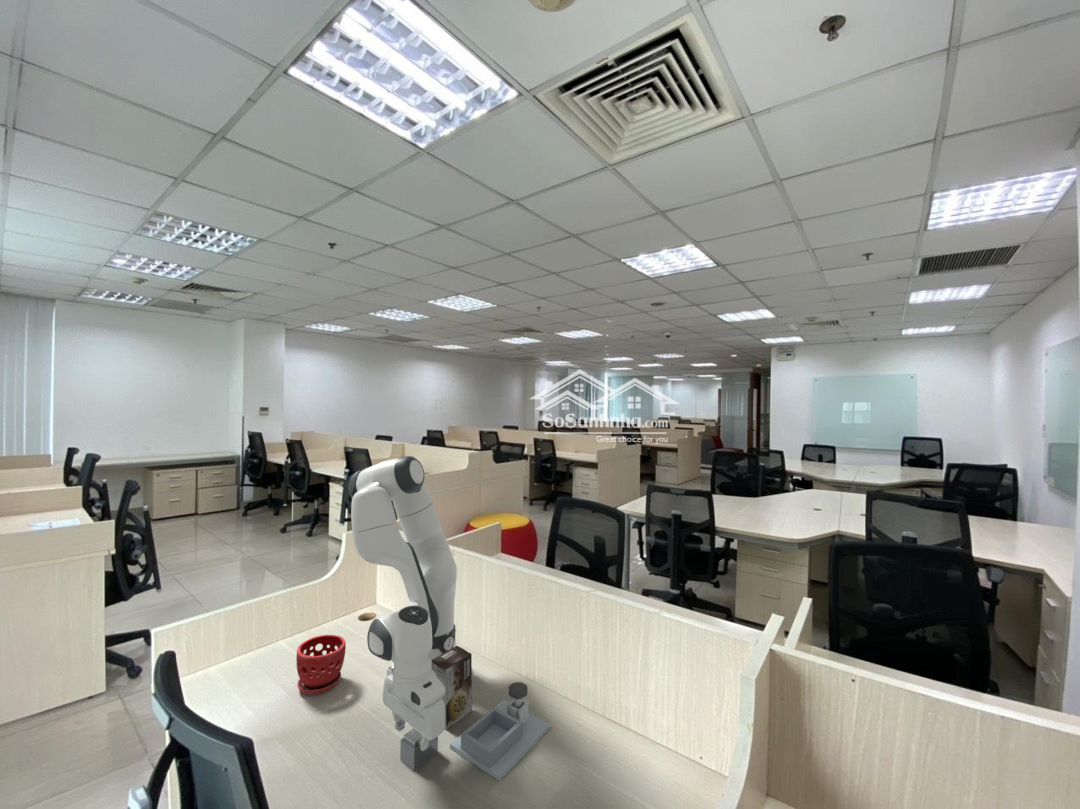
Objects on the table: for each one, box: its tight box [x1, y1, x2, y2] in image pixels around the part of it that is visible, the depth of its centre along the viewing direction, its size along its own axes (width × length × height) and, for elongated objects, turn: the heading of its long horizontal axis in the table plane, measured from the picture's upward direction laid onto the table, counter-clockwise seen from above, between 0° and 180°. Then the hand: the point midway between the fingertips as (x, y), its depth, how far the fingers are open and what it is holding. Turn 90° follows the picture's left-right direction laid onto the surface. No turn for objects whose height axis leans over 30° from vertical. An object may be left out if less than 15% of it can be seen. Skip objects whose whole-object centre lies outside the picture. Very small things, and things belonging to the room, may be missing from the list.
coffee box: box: [432, 645, 473, 730], centre depth 119 cm, size 9×6×16 cm
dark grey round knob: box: [508, 681, 529, 708], centre depth 116 cm, size 5×5×5 cm
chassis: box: [449, 698, 551, 782], centre depth 111 cm, size 16×20×5 cm
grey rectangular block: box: [399, 727, 439, 772], centre depth 105 cm, size 5×7×6 cm
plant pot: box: [295, 634, 347, 695], centre depth 132 cm, size 13×13×12 cm
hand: (411, 738), depth 105 cm, fingers open, 8 cm apart
